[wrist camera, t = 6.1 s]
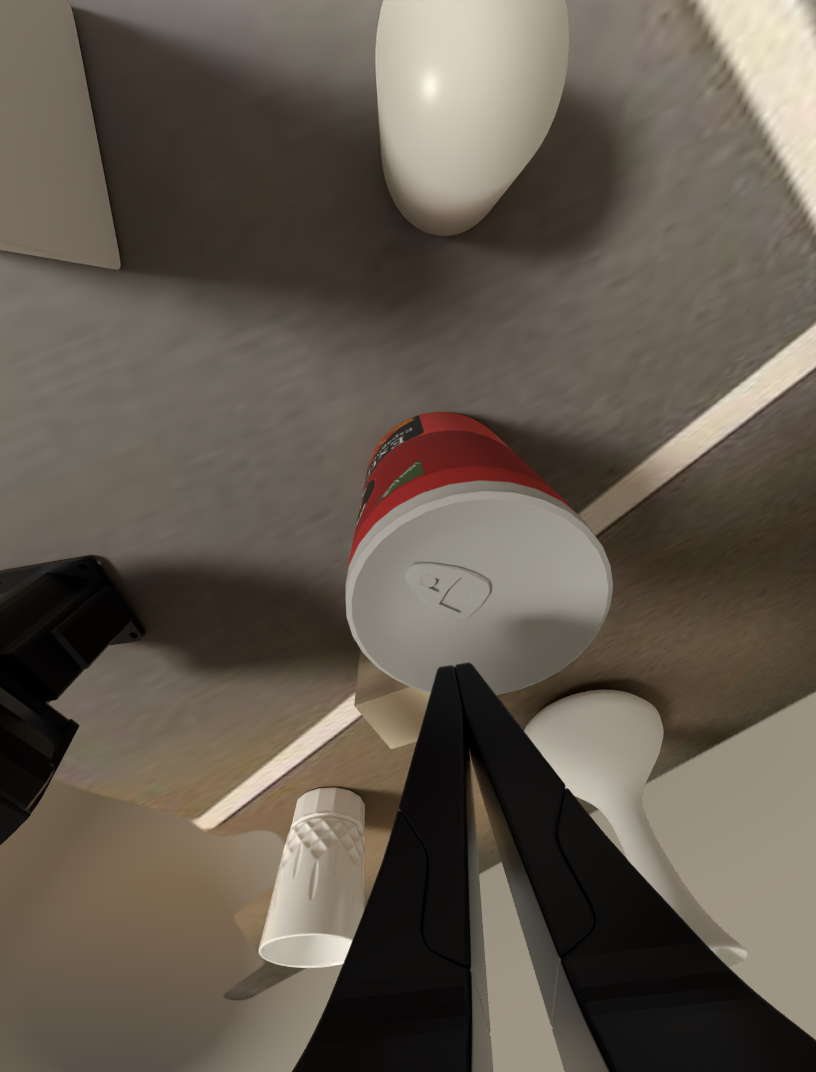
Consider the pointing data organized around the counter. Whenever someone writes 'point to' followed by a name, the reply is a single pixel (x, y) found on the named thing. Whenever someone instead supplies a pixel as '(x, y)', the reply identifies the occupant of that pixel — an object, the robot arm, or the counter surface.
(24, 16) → the milk carton
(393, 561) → the canned food
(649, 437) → the counter surface
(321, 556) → the counter surface
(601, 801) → the flower in vase
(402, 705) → the birch block
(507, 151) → the off-white smooth rounded part
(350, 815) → the white cup
